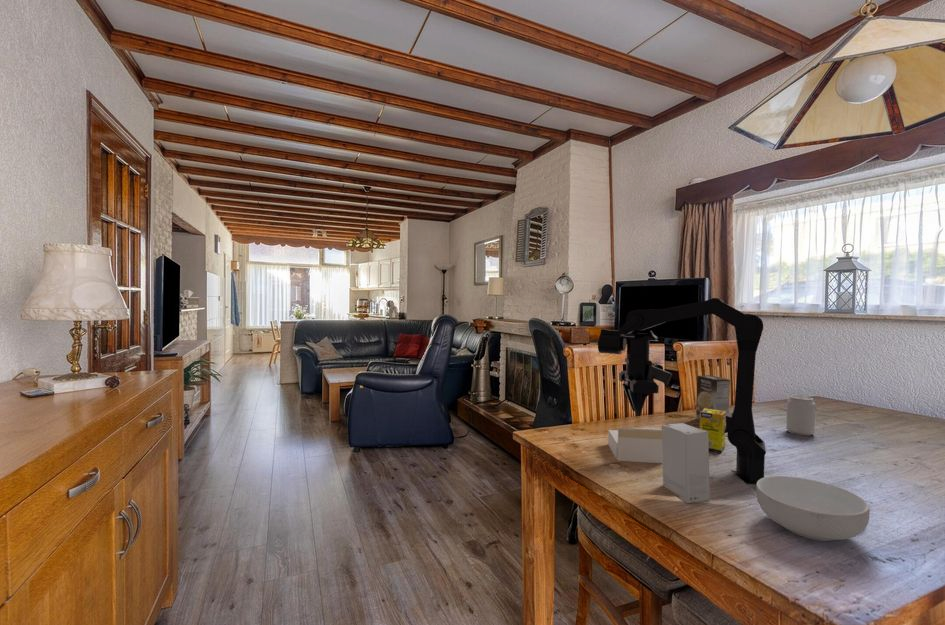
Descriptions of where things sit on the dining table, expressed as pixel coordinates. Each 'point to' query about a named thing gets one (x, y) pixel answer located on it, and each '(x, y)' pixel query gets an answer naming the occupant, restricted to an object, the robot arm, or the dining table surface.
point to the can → (801, 415)
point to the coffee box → (712, 394)
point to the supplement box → (714, 428)
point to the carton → (613, 441)
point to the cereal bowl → (812, 508)
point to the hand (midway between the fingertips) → (636, 412)
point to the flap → (640, 445)
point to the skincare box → (686, 462)
